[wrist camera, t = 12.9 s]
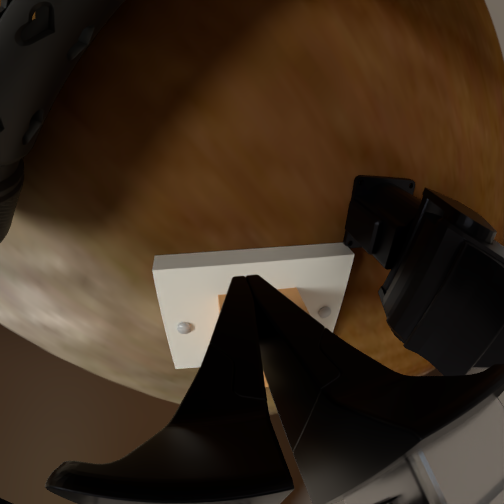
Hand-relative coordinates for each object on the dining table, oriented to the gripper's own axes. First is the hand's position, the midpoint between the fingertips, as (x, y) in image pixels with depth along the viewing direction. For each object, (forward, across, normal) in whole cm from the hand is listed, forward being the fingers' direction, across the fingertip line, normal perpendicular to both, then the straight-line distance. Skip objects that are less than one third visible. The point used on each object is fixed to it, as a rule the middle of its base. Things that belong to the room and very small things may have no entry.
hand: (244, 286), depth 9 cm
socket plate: (+12, -3, +12) cm, 17 cm away
